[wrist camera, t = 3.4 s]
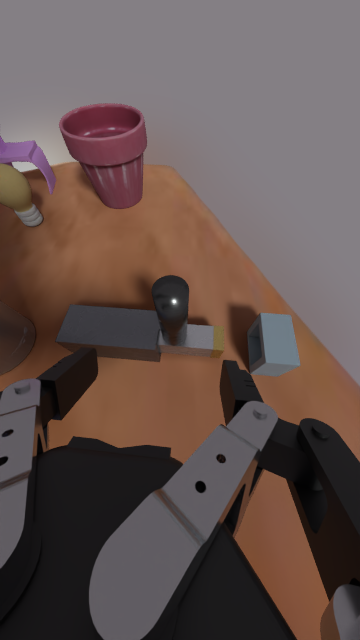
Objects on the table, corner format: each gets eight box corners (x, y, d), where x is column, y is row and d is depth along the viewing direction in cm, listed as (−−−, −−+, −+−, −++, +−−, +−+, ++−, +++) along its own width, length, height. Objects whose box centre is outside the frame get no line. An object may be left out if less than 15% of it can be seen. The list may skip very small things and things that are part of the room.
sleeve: (76, 354, 27) (55, 341, 22) (87, 322, 29) (70, 304, 25) (159, 362, 26) (154, 349, 22) (164, 328, 28) (161, 311, 24)
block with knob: (82, 346, 26) (13, 295, 16) (89, 325, 28) (30, 265, 17) (219, 358, 25) (246, 311, 15) (219, 336, 27) (243, 279, 16)
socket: (249, 373, 25) (266, 362, 20) (247, 331, 28) (260, 312, 23) (277, 376, 25) (300, 365, 20) (271, 333, 28) (290, 315, 23)
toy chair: (53, 196, 44) (-3, 99, 31) (13, 200, 44) (-61, 103, 30) (58, 177, 48) (11, 83, 35) (22, 180, 47) (-41, 86, 34)
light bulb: (11, 227, 39) (-39, 171, 30) (34, 209, 42) (-6, 152, 33) (35, 236, 38) (-10, 180, 29) (57, 217, 41) (22, 160, 32)
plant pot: (163, 207, 42) (155, 127, 30) (97, 224, 39) (63, 144, 28) (143, 174, 48) (130, 97, 36) (85, 187, 46) (53, 109, 34)
